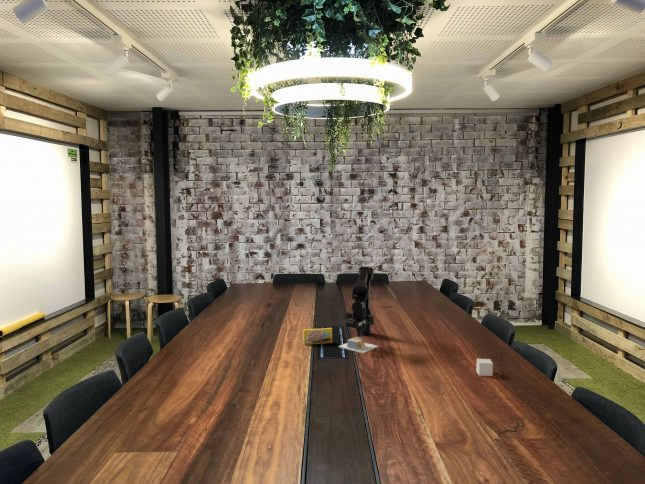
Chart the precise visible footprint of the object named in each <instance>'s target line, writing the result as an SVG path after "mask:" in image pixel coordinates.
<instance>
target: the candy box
mask: <svg viewBox="0 0 645 484" xmlns="http://www.w3.org/2000/svg"><path fill="white" fill-rule="evenodd" d="M302 332H303V334H302V335H303V337H302V338H303V339H302V344H303V345H304V346H306V345H317V344H318V345H319V344H330V343H331V344H332V343H333V328H332V327H326V328H325V327H322V328H308V329H307V328H306V329H303V331H302Z"/></svg>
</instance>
